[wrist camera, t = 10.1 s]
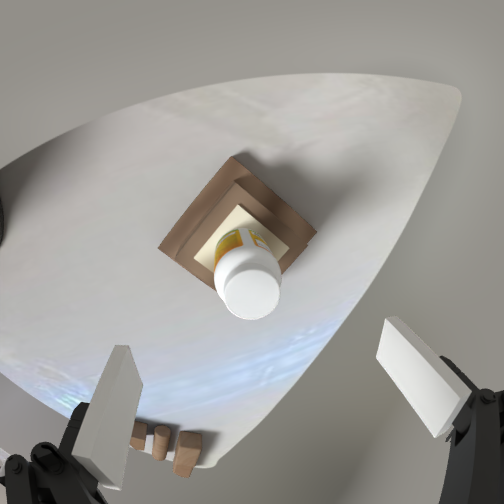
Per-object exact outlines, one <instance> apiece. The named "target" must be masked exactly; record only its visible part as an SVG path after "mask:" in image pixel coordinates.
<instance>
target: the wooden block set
mask: <svg viewBox="0 0 504 504" xmlns="http://www.w3.org/2000/svg"><path fill="white" fill-rule="evenodd" d="M170 434H171V431H170V429H169V428H168V427H167V426H164V425H159V426H157V427H156V428H155V431H154V440H153V449H152V456H153V458H155V459H156V460H159V461H162V460H164V459H165V458H166V455H167V449H168V444H169V439H170ZM146 435H147V424H146V423H142V422H138V421H134V426H133V430H132V435H131V440H130V445H131V446H132V447H133V448H134V449H136V450H144V447H145V441H146ZM201 450H202V435H201V434H198V433H191V432H186V431H180V433H179V437H178V441H177V445H176V449H175V457H174V461H173V472H174V473H176V474H177V475H179V476H181V477H186V478H188V477H190V474H191V472H192V470H193V467H194V466H195V465H196V463H197V460H198V458H199V455H200V453H201Z"/></svg>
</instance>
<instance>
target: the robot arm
mask: <svg viewBox="0 0 504 504" xmlns="http://www.w3.org/2000/svg"><path fill="white" fill-rule="evenodd" d="M2 234H3V211H2V204H1V200H0V243H1V239H2ZM376 358H377V359H378V361H379V362H380V363H381V365H382V366H383V368H384V369H385V370H386V371H387V373H388V374H389V376H390V377H391V378H392V379H393V381H394V382H395V384H396V385H397V386H398V388H399V389H400V390H401V392H402V393H403V395H404V396H405V397H406V399H407V400H408V401H409V403H410V404H411V405H412V407H413V408H414V410H415V411H416V413H417V414H418V415H419V417H420V418H421V419H422V421H423V422H424V424H425V425H426V427H427V428H428V429H429V431H430V432H431V434H432V435H433V437H434V438H436V437H438V436H440V435H441V434H443V433H445V432H446V431H447V430H448V428H449V427H450V426H451V424H453V426H454V429H453V430H452V431H451V433H450V434H449V436H448V437H447V438H446V442H447V441H448V440H449V439H450V438H451V441H450V442H451V446H450V453H449V459H448V465H447V470H446V476H445V480H444V485H443V489H442V493H441V497H440V501H439V504H504V390H503V391H500V392H495V393H494V392H493V391H492V390H490V389H481V390H479V389H478V388H477V387H476V386H475V385H474V384H473V383H472V382H471V381H470V380H469V379H468V377H467V376H466V375H465V374H464V373H463V372H461V370H460V369H459V368H458V367H456V365H455V364H454V363H453V362H452V361H451V360H449V359H447V358H446V357H444V356H440V357H438V356H437V355H436V354H435V353H434V352H433V351H432V350H431V349H430V348H429V347H428V346H427V345H426V344H425V343H424V342H423V341H422V340H421V339H420V338H419V337H418V336H417V335H416V334H415V333H414V332H413V331H412V330H411V329H410V328H409V327H408V326H407V325H406V324H405V323H404V322H403V321H402V320H401V319H400V318H398V317H397V316H393V317H389V318H386V319H385V322H384V327H383V331H382V336H381V340H380V344H379V348H378V352H377V355H376ZM142 388H143V383H142V381H141V378H140V376H139V373H138V370H137V368H136V365H135V362H134V359H133V356H132V353H131V350H130V347H129V345H115V347H114V349H113V351H112V353H111V355H110V357H109V360H108V362H107V364H106V366H105V369H104V371H103V373H102V375H101V378H100V380H99V382H98V385H97V387H96V390H95V392H94V394H93V397H92V399H91V402H90V403H85V402H81V403H80V404H79V405H78V406H77V407H76V408H75V409H74V411H73V413H72V415H71V418H70V419H71V420H69V423H68V425H67V426H68V427H67V428H66V430H65V433H64V435H63V438H62V441H61V443H60V446H59V448H58V449H57V447H56V446H55V445H53V444H51V443H49V442H42V443H39V444H37V445H36V446H35V447H34V448H33V449H32V452H31V455H30V456H31V461H32V462H28V461H27V460H26V459H25V458H24V457H22V456H21V455H17V454H14V455H11V456H10V457H8V458H7V460H6V462H5V485H6V496H7V504H108V503H107V501H106V500H105V498H104V497H103V495H102V494H101V492H100V491H99V490H98V488H97V486H98V482H99V483H100V484H102V485H103V486H104V487H106V488H111V489H116V490H121V488H122V482H123V476H124V471H125V465H126V460H127V454H128V449H129V444H130V440H131V435H132V430H133V426H134V421H135V417H136V412H137V408H138V404H139V400H140V396H141V392H142ZM451 436H452V437H451Z"/></svg>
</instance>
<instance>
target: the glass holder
mask: <svg viewBox="0 0 504 504" xmlns="http://www.w3.org/2000/svg"><path fill="white" fill-rule="evenodd" d="M6 460H7V459H5V458H4V462H3V464H2V467H1V469H0V483H1V484H2V485H3V486H5V487H6V485H5V462H6Z"/></svg>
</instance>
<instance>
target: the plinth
mask: <svg viewBox="0 0 504 504" xmlns="http://www.w3.org/2000/svg"><path fill="white" fill-rule="evenodd" d="M237 228H247V229H251V230H253V231H255V232H257V233H258V234H259V235H260V236H261V237H262V238H263V239H264V240H265V242H266V244H267V245H268V247H269V248H270V250H271V252H272V253H273V255H274V257H275V258H276V260H277V262H278V264H279V266H280V269H281V275H282V274H283V273H284V272H285V271H286V269H287V268H288V267H289V266H290V265H291V264H292V263H293V262H294V261H295V259H296V258H297V257H298V256H299V255H300V254H301V253H302V252H303V250H304V249H305V248H306V247H307V246H308V245H307V243H308V242H309V241H310V239H311V238H312V237H313V236H314V235H315V234H316V233H317V231H316V230H315V229H314V228H313V227H312V226H310V225H309V224H308V223H307V222H306V221H305V220H304V219H303V218H302V217H301V216H300V215H299V214H297V213H296V212H295V211H294V210H293V209H292V208H291V207H290V206H289V205H287V204H286V203H285V202H284V201H283V200H282V199H281V198H280V197H279V196H277V195H276V194H275V193H274V192H273V191H272V190H271V189H269V188H268V187H267V186H266V185H265V184H264V183H263V182H261V181H260V180H259V179H258V178H257V177H256V176H254V175H253V174H252V173H251V172H250V171H249V170H247V169H246V168H245V167H244V166H243V165H241V164H240V163H239V162H238V161H237V160H235V159H234V158H233V157H232V156H231V157H230V158H229V159H228V160H227V161H226V163H225V164H224V165H223V166H222V167H221V168H220V170H219V171H218V172H217V173H216V174H215V176H214V177H213V178H212V179H211V180H210V182H209V183H208V184H207V185H206V186H205V188H204V189H203V190H202V191H201V192H200V194H199V195H198V196H197V197H196V199H195V200H194V201H193V202H192V204H191V205H190V206H189V207H188V209H187V210H186V211H185V212H184V214H183V215H182V216H181V218H180V219H179V220H178V221H177V223H176V224H175V225H174V227H173V228H172V229H171V231H170V232H169V233H168V235H167V236H166V237H165V239H164V240H163V241H162V243H161V244H160V246H159V247H158V249H159V250H161V251H162V252H163V253H165V254H166V255H167V256H169V257H170V258H171V259H173V260H174V261H175V262H177V263H178V264H179V265H181V266H182V267H183V268H185V269H186V270H187V271H189V272H190V273H191V274H193V275H194V276H196V277H197V278H198V279H200V280H201V281H202V282H204V283H205V284H207V285H208V286H209V287H211V288H212V289H214V290H215V291H216V292H217V290H216V287H215V282H214V255H215V248H216V245H217V243H218V241H219V240H220V238H221V237H222V236H223V235H224V234H226V233H227V232H229V231H231V230H233V229H237Z"/></svg>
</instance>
